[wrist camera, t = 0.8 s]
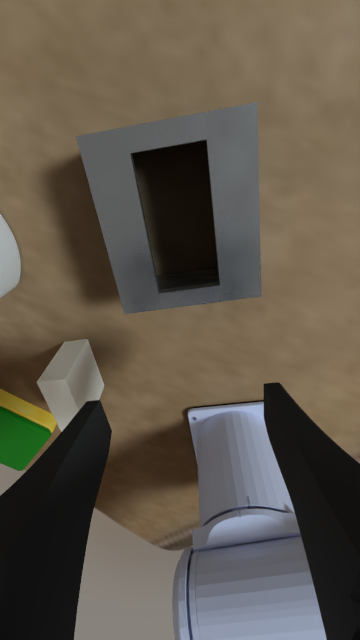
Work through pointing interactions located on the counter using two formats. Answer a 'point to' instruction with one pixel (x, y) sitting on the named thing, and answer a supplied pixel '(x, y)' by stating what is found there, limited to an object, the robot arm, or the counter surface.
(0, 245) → the eye dropper bottle
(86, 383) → the block
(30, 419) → the dish sponge
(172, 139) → the slot box
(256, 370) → the counter surface
